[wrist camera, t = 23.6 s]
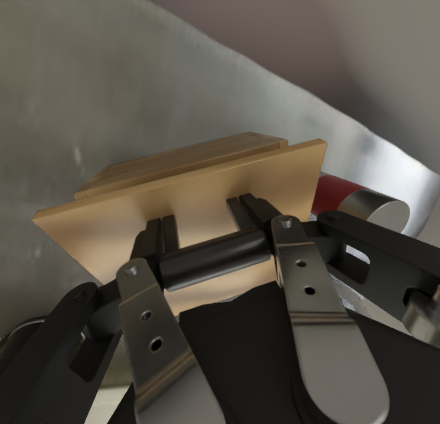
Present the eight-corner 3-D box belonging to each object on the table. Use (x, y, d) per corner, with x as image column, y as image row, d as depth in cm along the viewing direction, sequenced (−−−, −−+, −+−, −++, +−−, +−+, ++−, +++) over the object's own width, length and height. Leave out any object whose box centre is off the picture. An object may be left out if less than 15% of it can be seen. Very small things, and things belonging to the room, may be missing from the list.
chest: (107, 165, 21) (72, 193, 14) (249, 131, 23) (288, 139, 15) (154, 262, 28) (148, 317, 21) (260, 230, 30) (290, 269, 22)
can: (289, 206, 29) (355, 257, 19) (288, 173, 27) (364, 210, 16) (320, 197, 30) (401, 241, 20) (323, 163, 27) (417, 193, 17)
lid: (37, 210, 10) (-36, 313, 6) (319, 137, 12) (403, 181, 8) (148, 317, 20) (147, 382, 16) (291, 269, 22) (321, 317, 18)
